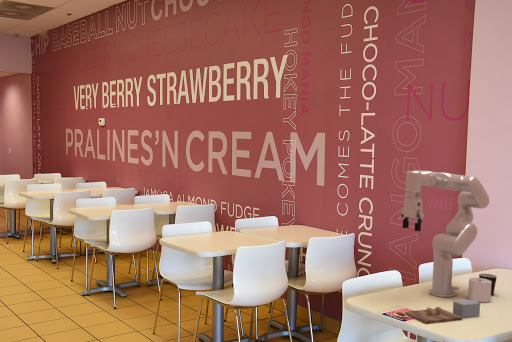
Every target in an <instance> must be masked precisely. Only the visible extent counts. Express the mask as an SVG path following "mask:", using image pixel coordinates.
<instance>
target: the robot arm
mask: <svg viewBox="0 0 512 342" xmlns="http://www.w3.org/2000/svg"><path fill="white" fill-rule="evenodd" d="M422 186H425V187H431V188H436V189H440V190H441V189H442V190H448V191H449V190H451V191H457V192H459V194H458V197H457V205H458V211H457V213H456V214H455V216H454V217H453V218H452V219H451V220H450V222H449V223H448V224H447V226H445V227H446V228H445V233H446V234H445V233H438V234H436V235H435V236H434V237H433V239H432V242H431V243H432V251H433V263H432V264H433V266H432V267H433V269H432V283H431V284H432V286H431V287H432V288H431V289H429V290H428V293H429V294H430V295H431V296H434V297H439V298H440V297H441V298H453V297H455V293H454V292H455V291H458V290H459V286H453V285H452V284H453V283H452V282H453V267H454V261H453V257H452V256H458V257H459V256H460V257H461V256H462V255H464V253H465V252H466V251H467V250H468V248H469V247H470V246H471V245H472V243H473V242H474V241H475V240H476V238H477V235H478V227H477V226H476V224H475V223H473V220H474V213H473V210H472V208H475V209H486V208H487V207H488V205H489V204H490V197H489V194H488V193H487V191H486V188H484V185H483V184H482V183H481V181H480V179H479V178H477V177H476V176H474V175H464V174H463V175H462V174H455V173H450V172H434V171H431V170H423V169H422V170H421V169H415V170H408V171H406V174H405V192H404V194H405V195H404V196H405V197H404V202H403V209H402V210H400V214H401V219H402V228H403V229H409V225H410V221H409V219H414V222H415V223H414V231H415V232H420V231H422V230H421V229H422V223H423V221H424V218H425V214H424V213H423V199H422Z"/></svg>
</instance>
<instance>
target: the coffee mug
mask: <svg viewBox="0 0 512 342" xmlns="http://www.w3.org/2000/svg"><path fill="white" fill-rule="evenodd" d="M478 278H483V279H487V280H490V281H491V282H492V283H491V295H492V296H494V295H493V294H494V293H495V289H496V288H495V287H496V283H497V275H495V274H493V273H492V274H491V273H479V274H478Z"/></svg>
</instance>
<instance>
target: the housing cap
mask: <svg viewBox="0 0 512 342" xmlns="http://www.w3.org/2000/svg"><path fill="white" fill-rule="evenodd" d="M452 303H453V304H452V313H453V314H456V315H458V316H460V317H462V319H467V318H476V317H480V311H481V310H480V309H481V302H475V301H473V300H470V299H463V300H453V302H452Z"/></svg>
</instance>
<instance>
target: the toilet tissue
mask: <svg viewBox="0 0 512 342" xmlns="http://www.w3.org/2000/svg"><path fill="white" fill-rule="evenodd" d="M491 283H492V282H491V281H490V280H487V279H483V278H479V277H469V278H468V286H467V287H468V291H467V300H473V301H475V302H478V303H490V302H491V300H492V299H491V297H492V296H491Z"/></svg>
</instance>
